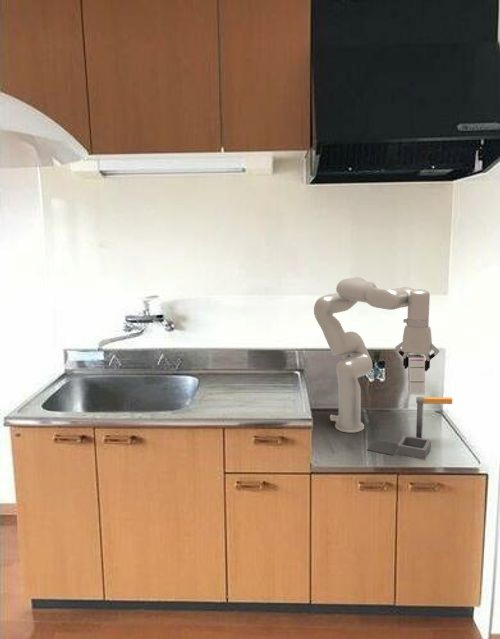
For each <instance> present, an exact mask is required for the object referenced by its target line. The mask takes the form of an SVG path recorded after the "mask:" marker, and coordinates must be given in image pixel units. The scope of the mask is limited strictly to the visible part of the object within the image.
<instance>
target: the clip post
mask: <svg viewBox="0 0 500 639" xmlns="http://www.w3.org/2000/svg"><path fill="white" fill-rule="evenodd" d="M423 421H424V404H418V403H416V429H415V430H416V431H415V432H416V433H415V437H418V438H423V426H424V424H423Z"/></svg>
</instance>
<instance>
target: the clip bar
mask: <svg viewBox="0 0 500 639" xmlns="http://www.w3.org/2000/svg"><path fill="white" fill-rule="evenodd" d="M415 401H416V403H415V404H417V403H418V404H423V405H424V404H425V405H429V404H430V405H453V398H452V397H450V396H448V397H444V396H443V397H442V396H441V397H439V396H437V397H435V396H431V397H429V396H424V397H423V396H417V397H416V400H415Z"/></svg>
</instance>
